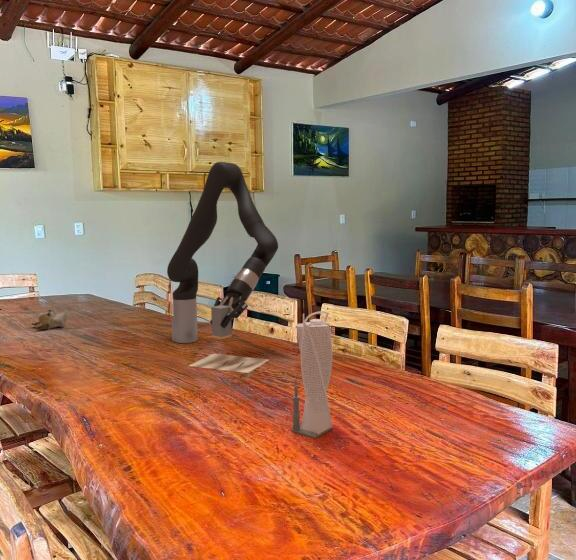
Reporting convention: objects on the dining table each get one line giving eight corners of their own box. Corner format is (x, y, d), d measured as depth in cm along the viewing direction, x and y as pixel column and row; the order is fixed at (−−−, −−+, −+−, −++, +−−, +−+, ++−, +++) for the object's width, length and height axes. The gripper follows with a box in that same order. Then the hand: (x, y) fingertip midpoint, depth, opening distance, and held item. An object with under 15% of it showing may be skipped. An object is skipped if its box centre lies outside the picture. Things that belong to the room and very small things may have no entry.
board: (188, 370, 176) (187, 365, 176) (213, 357, 191) (212, 353, 191) (248, 377, 168) (248, 372, 168) (269, 363, 183) (269, 359, 182)
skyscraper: (312, 420, 134) (311, 308, 130) (339, 428, 129) (339, 312, 125) (291, 431, 127) (289, 314, 124) (318, 439, 122) (318, 318, 118)
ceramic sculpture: (67, 309, 240) (30, 314, 233) (70, 328, 241) (33, 334, 235) (65, 305, 249) (29, 311, 243) (67, 324, 251) (32, 329, 244)
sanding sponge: (212, 336, 178) (211, 307, 177) (222, 334, 181) (221, 305, 180) (221, 338, 175) (220, 308, 173) (231, 336, 178) (230, 306, 177)
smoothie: (292, 351, 198) (292, 314, 196) (300, 347, 203) (300, 311, 201) (308, 353, 195) (308, 315, 193) (316, 349, 200) (315, 312, 198)
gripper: (223, 276, 186) (196, 316, 179) (251, 279, 176) (224, 321, 169) (235, 289, 190) (209, 329, 183) (263, 293, 181) (238, 335, 173)
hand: (217, 325), depth 176 cm, fingers closed on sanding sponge, 4 cm apart
